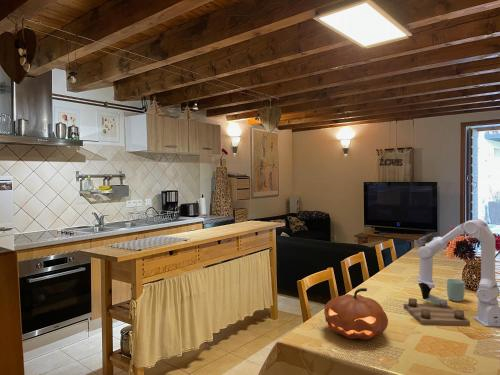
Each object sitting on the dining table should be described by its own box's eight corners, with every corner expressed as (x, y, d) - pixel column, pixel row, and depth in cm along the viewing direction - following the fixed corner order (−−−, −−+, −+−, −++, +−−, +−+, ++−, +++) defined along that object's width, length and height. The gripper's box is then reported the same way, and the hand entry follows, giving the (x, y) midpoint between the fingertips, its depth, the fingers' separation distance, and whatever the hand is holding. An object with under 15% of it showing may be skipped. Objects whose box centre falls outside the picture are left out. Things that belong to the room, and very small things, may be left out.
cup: (466, 303, 179) (467, 283, 179) (449, 302, 181) (450, 282, 181) (461, 298, 187) (461, 279, 187) (444, 297, 189) (444, 278, 188)
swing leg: (448, 306, 169) (449, 300, 168) (443, 307, 168) (443, 301, 168) (427, 298, 181) (427, 292, 181) (422, 298, 180) (422, 293, 180)
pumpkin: (313, 338, 141) (314, 289, 140) (334, 316, 162) (334, 274, 162) (380, 354, 128) (381, 301, 127) (393, 328, 149) (394, 283, 149)
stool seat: (470, 325, 153) (470, 314, 152) (421, 324, 154) (421, 313, 153) (446, 308, 173) (446, 298, 172) (403, 307, 174) (403, 297, 173)
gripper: (411, 266, 184) (411, 293, 184) (423, 274, 169) (423, 303, 170) (425, 267, 184) (425, 293, 184) (439, 274, 169) (438, 303, 169)
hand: (425, 298), depth 177 cm, fingers closed, pressing on swing leg
